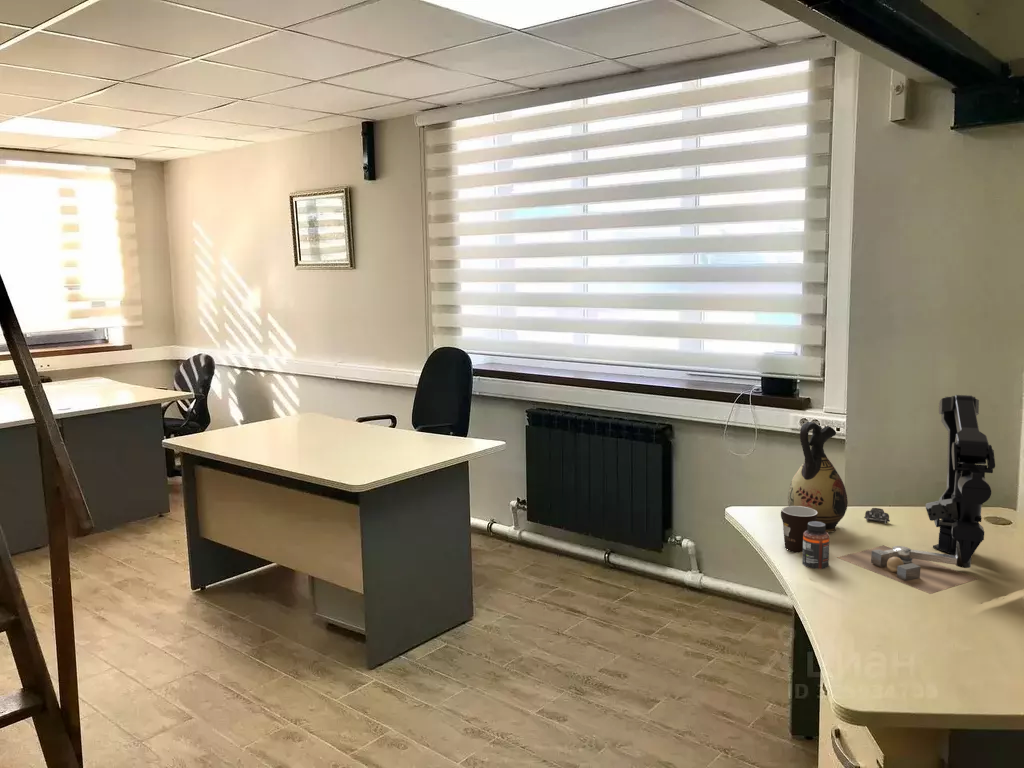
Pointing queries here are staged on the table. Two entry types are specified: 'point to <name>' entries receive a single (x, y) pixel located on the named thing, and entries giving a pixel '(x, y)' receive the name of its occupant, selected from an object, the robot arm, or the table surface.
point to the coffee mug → (796, 525)
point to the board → (930, 573)
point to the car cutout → (877, 515)
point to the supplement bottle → (816, 546)
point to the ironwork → (908, 570)
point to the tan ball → (894, 563)
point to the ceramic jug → (818, 479)
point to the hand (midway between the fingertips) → (963, 556)
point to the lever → (917, 556)
